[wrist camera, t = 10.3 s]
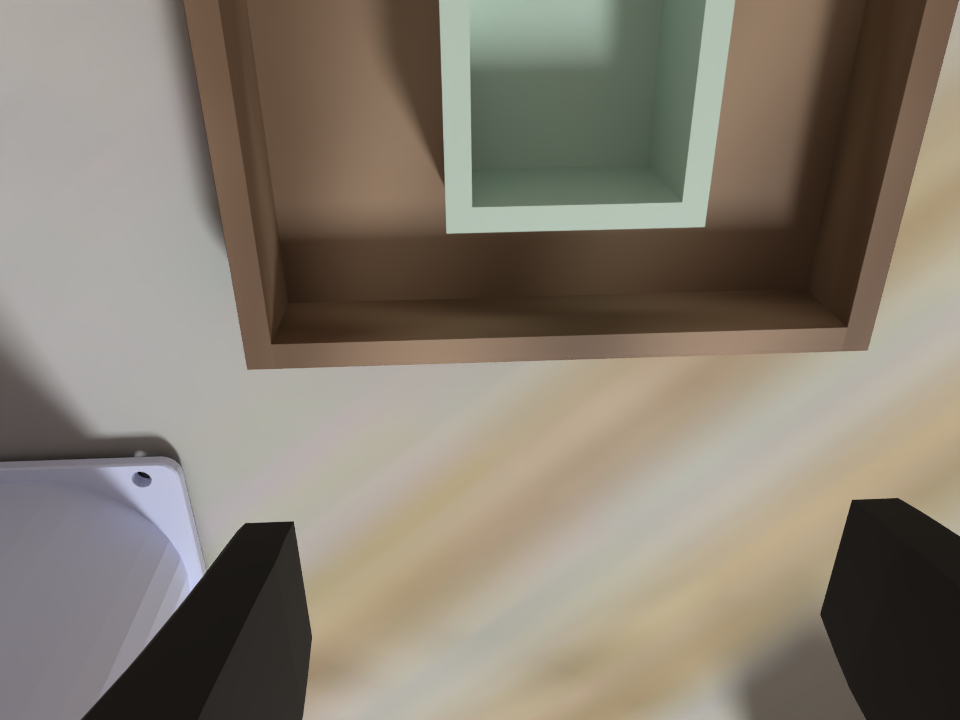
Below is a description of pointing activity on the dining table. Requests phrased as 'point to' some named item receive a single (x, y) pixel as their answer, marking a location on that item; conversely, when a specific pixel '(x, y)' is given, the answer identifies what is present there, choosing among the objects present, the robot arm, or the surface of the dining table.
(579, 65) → the box
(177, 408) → the dining table surface
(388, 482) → the dining table surface
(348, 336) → the walnut crate
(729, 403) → the dining table surface
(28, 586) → the robot arm
